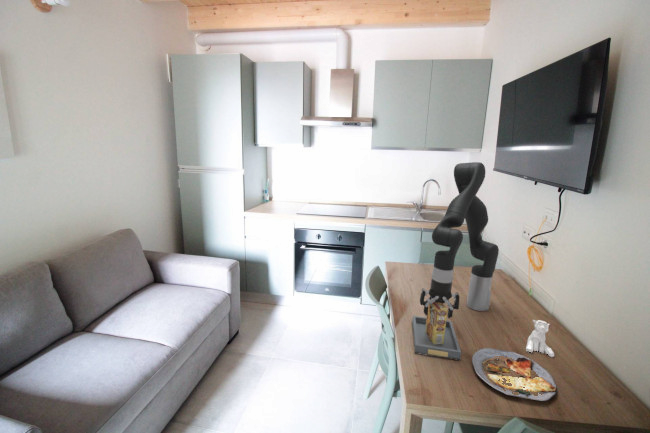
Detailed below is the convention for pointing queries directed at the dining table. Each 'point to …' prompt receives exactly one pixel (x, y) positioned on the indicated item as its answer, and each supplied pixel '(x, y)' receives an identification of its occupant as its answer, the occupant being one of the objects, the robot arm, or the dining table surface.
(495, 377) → the food plate
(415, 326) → the labelled tray
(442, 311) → the candy box
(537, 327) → the sitting furry creature
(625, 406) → the dining table surface
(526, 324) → the dining table surface
